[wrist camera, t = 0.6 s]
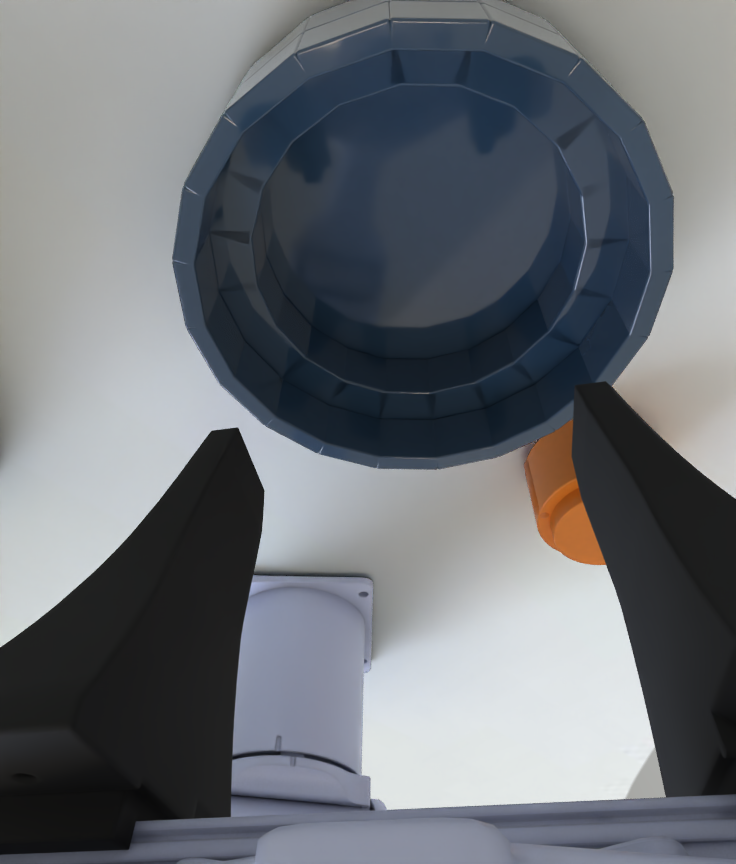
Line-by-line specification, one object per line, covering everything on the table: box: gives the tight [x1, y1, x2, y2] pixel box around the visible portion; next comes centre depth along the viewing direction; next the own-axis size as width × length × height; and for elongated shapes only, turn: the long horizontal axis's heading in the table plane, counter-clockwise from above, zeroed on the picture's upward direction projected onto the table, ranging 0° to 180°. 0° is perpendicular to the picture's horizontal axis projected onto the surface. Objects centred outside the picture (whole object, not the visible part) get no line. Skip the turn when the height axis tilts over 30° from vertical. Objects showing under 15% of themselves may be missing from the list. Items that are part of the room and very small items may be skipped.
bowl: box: [172, 0, 674, 470], centre depth 19 cm, size 13×13×4 cm
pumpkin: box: [524, 420, 606, 565], centre depth 26 cm, size 6×6×5 cm
